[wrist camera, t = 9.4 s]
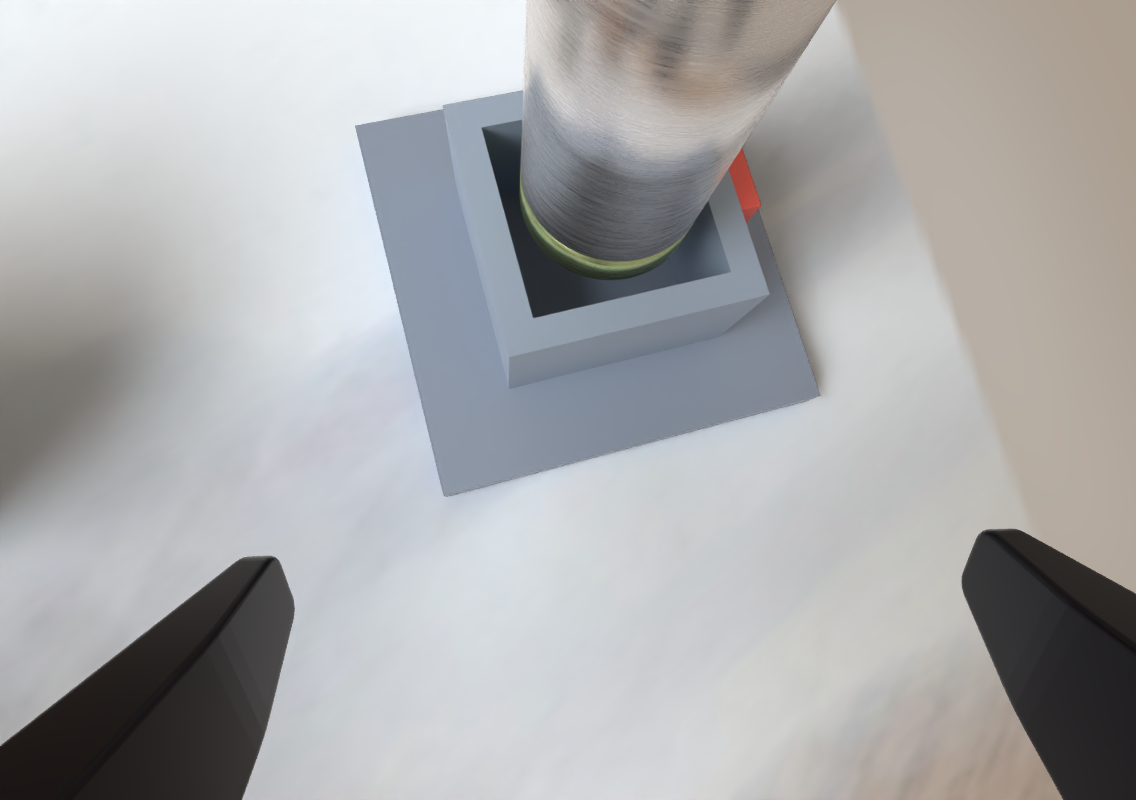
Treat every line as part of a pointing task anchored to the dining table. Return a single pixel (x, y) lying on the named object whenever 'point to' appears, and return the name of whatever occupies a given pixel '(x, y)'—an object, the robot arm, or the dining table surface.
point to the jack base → (565, 309)
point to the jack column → (643, 117)
